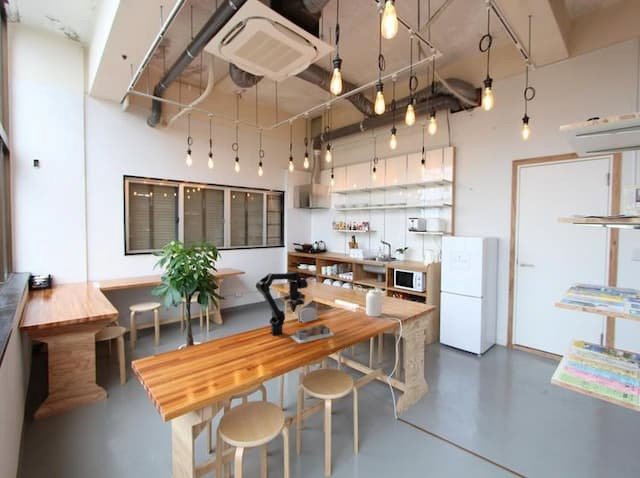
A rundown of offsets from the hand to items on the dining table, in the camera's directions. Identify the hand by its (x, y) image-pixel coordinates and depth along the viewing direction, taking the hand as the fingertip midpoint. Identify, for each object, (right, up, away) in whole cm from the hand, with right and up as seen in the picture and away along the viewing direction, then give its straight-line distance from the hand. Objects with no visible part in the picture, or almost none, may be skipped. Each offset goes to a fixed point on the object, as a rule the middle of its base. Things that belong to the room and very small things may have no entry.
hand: (293, 312), depth 211 cm
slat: (+14, -12, -13) cm, 22 cm away
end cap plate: (+14, -13, -13) cm, 23 cm away
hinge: (+9, -11, +21) cm, 26 cm away
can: (+62, -11, +35) cm, 72 cm away
